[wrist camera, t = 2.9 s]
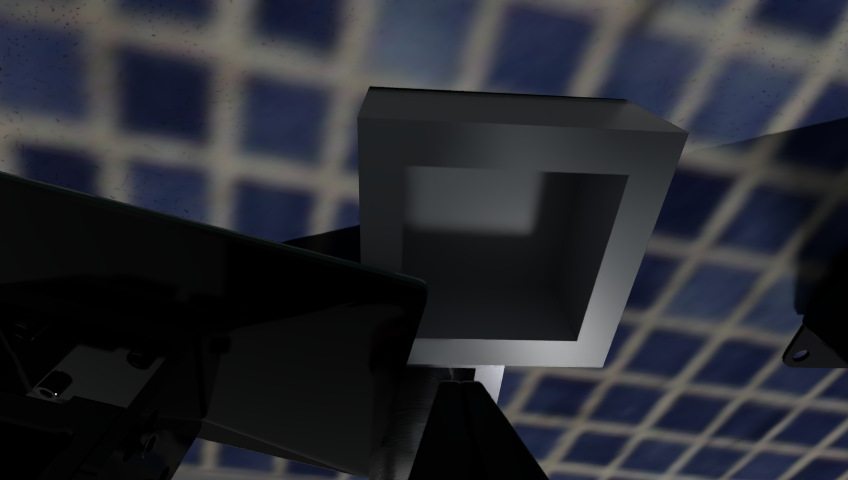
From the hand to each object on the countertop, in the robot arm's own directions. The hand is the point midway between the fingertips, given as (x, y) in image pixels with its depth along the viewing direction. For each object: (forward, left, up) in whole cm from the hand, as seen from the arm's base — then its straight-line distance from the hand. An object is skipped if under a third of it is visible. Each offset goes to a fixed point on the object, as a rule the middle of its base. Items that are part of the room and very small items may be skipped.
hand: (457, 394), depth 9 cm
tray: (-1, -3, -4) cm, 4 cm away
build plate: (+8, -1, -4) cm, 9 cm away
